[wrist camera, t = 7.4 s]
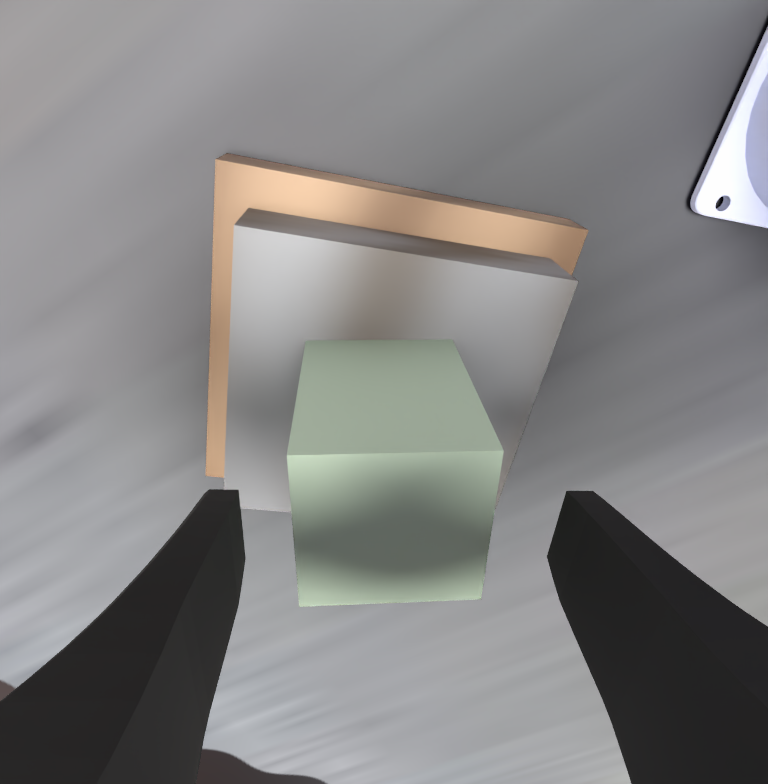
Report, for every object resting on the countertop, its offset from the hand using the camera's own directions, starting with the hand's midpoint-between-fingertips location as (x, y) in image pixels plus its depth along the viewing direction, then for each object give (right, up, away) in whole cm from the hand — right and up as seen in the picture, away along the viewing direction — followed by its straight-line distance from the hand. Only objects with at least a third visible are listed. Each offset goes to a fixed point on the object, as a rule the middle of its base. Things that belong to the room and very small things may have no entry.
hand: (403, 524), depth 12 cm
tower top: (-1, +4, +8) cm, 9 cm away
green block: (-1, +3, +6) cm, 6 cm away
